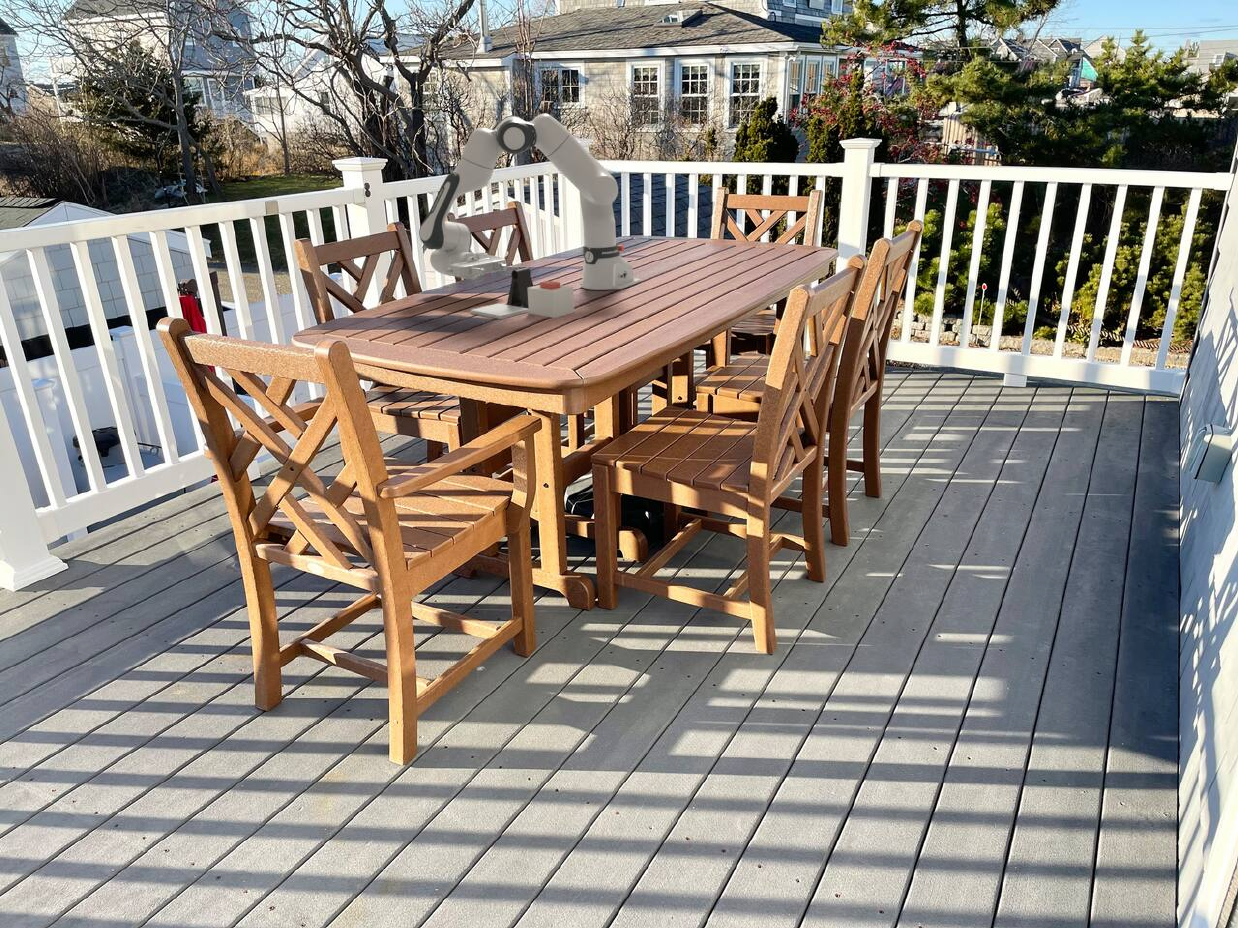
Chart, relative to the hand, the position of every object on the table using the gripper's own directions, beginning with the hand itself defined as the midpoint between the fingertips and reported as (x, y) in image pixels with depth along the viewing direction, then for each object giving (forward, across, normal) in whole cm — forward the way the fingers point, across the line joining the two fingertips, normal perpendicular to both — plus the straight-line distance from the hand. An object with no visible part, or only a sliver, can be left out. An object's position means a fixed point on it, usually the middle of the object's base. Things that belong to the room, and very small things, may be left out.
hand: (494, 270), depth 295 cm
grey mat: (+13, -10, +10) cm, 20 cm away
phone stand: (+12, 0, +11) cm, 16 cm away
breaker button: (+27, -2, +4) cm, 28 cm away
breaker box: (+27, -2, +10) cm, 29 cm away
